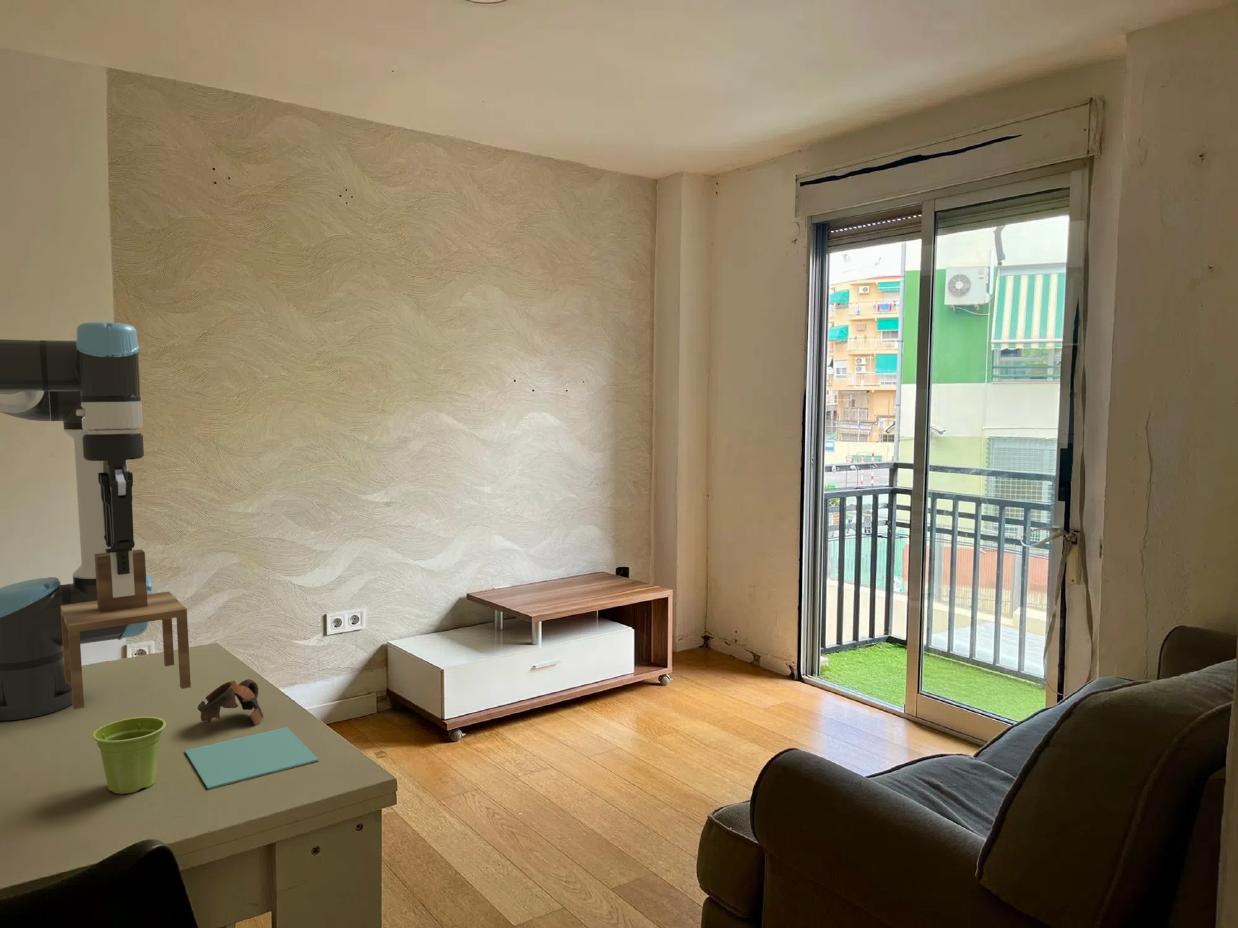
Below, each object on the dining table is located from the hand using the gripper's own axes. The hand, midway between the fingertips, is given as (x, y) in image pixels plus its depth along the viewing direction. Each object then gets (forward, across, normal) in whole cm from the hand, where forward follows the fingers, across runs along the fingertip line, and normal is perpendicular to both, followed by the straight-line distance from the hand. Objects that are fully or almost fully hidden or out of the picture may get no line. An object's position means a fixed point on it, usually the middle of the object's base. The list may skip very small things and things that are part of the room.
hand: (122, 593), depth 126 cm
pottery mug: (+29, -18, +18) cm, 39 cm away
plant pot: (+29, 0, 0) cm, 29 cm away
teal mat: (+29, 0, +16) cm, 33 cm away
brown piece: (+14, 0, 0) cm, 14 cm away
